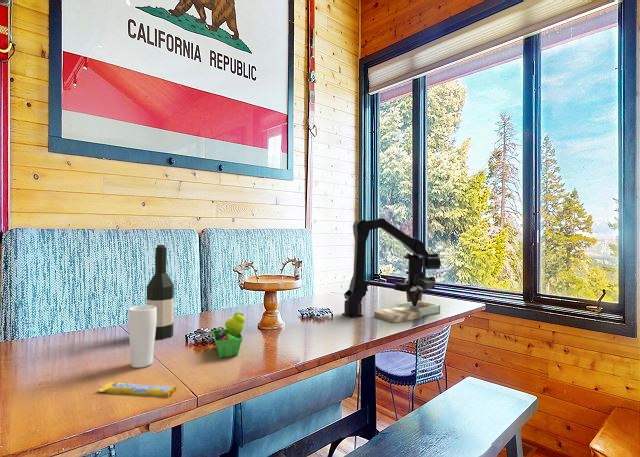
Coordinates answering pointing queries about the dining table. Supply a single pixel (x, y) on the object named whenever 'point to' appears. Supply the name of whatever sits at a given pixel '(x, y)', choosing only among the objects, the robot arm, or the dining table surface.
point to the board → (398, 314)
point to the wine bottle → (161, 295)
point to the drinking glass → (142, 334)
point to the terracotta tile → (423, 304)
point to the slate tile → (415, 307)
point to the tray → (424, 308)
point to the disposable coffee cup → (408, 296)
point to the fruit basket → (230, 336)
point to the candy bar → (138, 389)
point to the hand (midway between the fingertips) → (414, 306)
